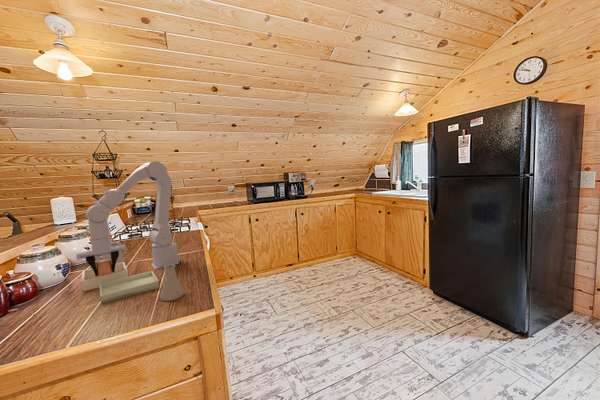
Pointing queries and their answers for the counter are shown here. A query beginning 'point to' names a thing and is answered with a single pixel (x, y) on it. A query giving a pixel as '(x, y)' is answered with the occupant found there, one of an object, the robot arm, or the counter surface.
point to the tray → (127, 286)
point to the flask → (171, 285)
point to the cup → (108, 256)
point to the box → (102, 277)
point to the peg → (104, 268)
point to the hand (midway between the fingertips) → (105, 273)
